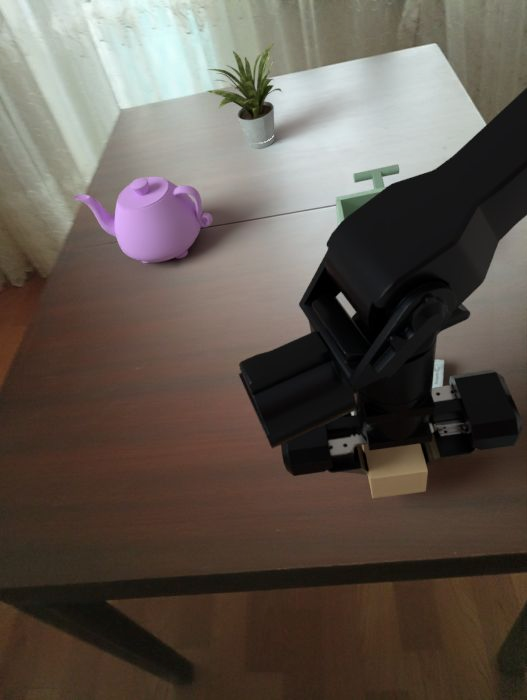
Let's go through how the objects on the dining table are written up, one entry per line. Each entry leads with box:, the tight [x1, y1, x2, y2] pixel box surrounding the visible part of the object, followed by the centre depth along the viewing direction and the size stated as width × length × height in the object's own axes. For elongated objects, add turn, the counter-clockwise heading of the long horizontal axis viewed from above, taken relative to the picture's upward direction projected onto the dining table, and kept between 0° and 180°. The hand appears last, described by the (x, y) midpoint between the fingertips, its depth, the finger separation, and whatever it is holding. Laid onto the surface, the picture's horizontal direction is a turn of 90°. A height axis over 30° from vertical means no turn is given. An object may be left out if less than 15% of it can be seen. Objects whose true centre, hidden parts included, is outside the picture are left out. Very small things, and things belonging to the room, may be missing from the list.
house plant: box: [206, 43, 283, 150], centre depth 93 cm, size 14×14×16 cm
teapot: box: [73, 176, 213, 264], centre depth 80 cm, size 20×14×12 cm
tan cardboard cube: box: [362, 444, 429, 499], centre depth 47 cm, size 5×5×4 cm
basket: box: [335, 163, 400, 227], centre depth 68 cm, size 13×12×7 cm
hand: (393, 465), depth 48 cm, fingers closed on tan cardboard cube, 5 cm apart
